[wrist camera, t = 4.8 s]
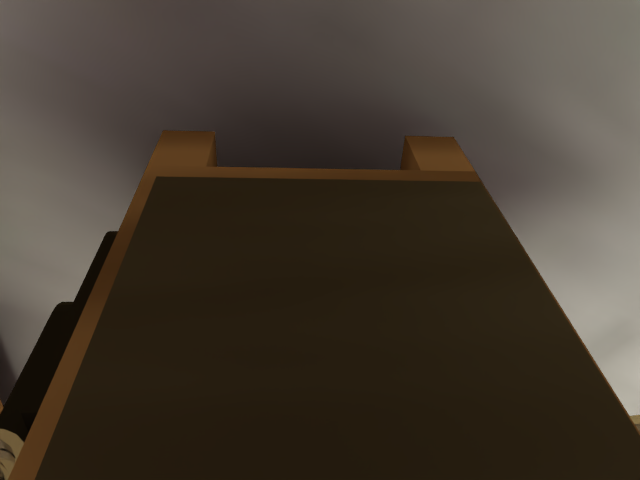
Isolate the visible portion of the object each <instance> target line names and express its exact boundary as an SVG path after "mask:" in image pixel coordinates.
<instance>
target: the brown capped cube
mask: <svg viewBox="0 0 640 480" xmlns="http://www.w3.org/2000/svg"><path fill="white" fill-rule="evenodd" d="M8 480H640V432H639V430H638V429H637V427H636V426H635V424H634V422H633V421H632V419H631V418H630V416H629V414H628V413H627V411H626V410H625V408H624V407H623V405H622V403H621V402H620V400H619V399H618V397H617V395H616V394H615V392H614V391H613V389H612V387H611V386H610V384H609V383H608V381H607V380H606V378H605V376H604V375H603V373H602V372H601V370H600V368H599V367H598V365H597V364H596V362H595V361H594V359H593V357H592V356H591V354H590V353H589V351H588V349H587V348H586V346H585V345H584V343H583V341H582V340H581V338H580V337H579V335H578V334H577V332H576V330H575V329H574V327H573V326H572V324H571V322H570V321H569V319H568V318H567V316H566V315H565V313H564V311H563V310H562V308H561V307H560V305H559V303H558V302H557V300H556V299H555V297H554V296H553V294H552V292H551V291H550V289H549V288H548V286H547V284H546V283H545V281H544V280H543V278H542V276H541V275H540V273H539V272H538V270H537V269H536V267H535V265H534V264H533V262H532V261H531V259H530V257H529V256H528V254H527V253H526V251H525V250H524V248H523V246H522V245H521V243H520V242H519V240H518V238H517V237H516V235H515V234H514V232H513V230H512V229H511V227H510V226H509V224H508V223H507V221H506V219H505V218H504V216H503V215H502V213H501V211H500V210H499V208H498V207H497V205H496V204H495V202H494V200H493V199H492V197H491V196H490V194H489V192H488V191H487V189H486V188H485V186H484V184H483V183H482V181H481V180H480V178H479V177H478V175H477V173H476V172H475V170H474V169H473V167H472V165H471V164H470V162H469V161H468V159H467V158H466V156H465V154H464V153H463V151H462V150H461V148H460V146H459V145H458V143H457V142H456V140H455V138H454V137H431V136H405V140H404V147H403V154H402V160H401V167H400V170H369V169H313V168H257V167H217V156H216V140H215V132H212V131H168V130H163V132H162V134H161V136H160V139H159V141H158V143H157V145H156V148H155V150H154V152H153V154H152V157H151V159H150V161H149V163H148V166H147V168H146V170H145V172H144V175H143V177H142V179H141V181H140V184H139V186H138V188H137V190H136V193H135V195H134V197H133V199H132V202H131V204H130V206H129V208H128V211H127V213H126V215H125V217H124V220H123V222H122V224H121V226H120V228H119V231H118V233H117V235H116V237H115V240H114V242H113V244H112V246H111V249H110V251H109V253H108V255H107V258H106V260H105V262H104V264H103V267H102V269H101V271H100V273H99V276H98V278H97V280H96V282H95V285H94V287H93V289H92V291H91V294H90V296H89V298H88V300H87V303H86V305H85V307H84V309H83V312H82V314H81V316H80V318H79V321H78V323H77V325H76V327H75V330H74V332H73V334H72V336H71V339H70V341H69V343H68V345H67V348H66V350H65V352H64V354H63V357H62V359H61V361H60V363H59V366H58V368H57V370H56V372H55V375H54V377H53V379H52V381H51V384H50V386H49V388H48V390H47V393H46V395H45V397H44V399H43V402H42V404H41V406H40V408H39V411H38V413H37V415H36V417H35V420H34V422H33V424H32V426H31V429H30V431H29V433H28V435H27V438H26V440H25V442H24V444H23V447H22V449H21V451H20V453H19V456H18V458H17V460H16V462H15V465H14V467H13V469H12V471H11V474H10V476H9V478H8Z"/></svg>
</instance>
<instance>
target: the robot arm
mask: <svg viewBox="0 0 640 480" xmlns="http://www.w3.org/2000/svg"><path fill="white" fill-rule="evenodd" d="M117 233H118V231H109V232H107V233H106V235H105V236H104V239H103V241H102V243H101V245H100V247H99V249H98V251H97V253H96V256H95V258H94V260H93V262H92V264H91V266H90V268H89V270H88V272H87V275H86V277H85V279H84V281H83V283H82V285H81V287H80V289H79V291H78V294H77V296H76V298H75V300H74V302H61V303H59V304H58V305H57V306H56V307H55V309H54V310H53V312H52V314H51V316H50V318H49V319H48V321H47V323H46V325H45V327H44V329H43V331H42V333H41V335H40V337H39V339H38V341H37V343H36V345H35V347H34V349H33V351H32V353H31V355H30V357H29V359H28V361H27V363H26V365H25V367H24V368H23V370H22V372H21V374H20V376H19V378H18V380H17V382H16V384H15V386H14V388H13V390H12V392H11V394H10V396H9V398H8V400H7V402H6V404H5V406H4V408H3V410H2V412H1V414H0V480H8V478H9V476H10V474H11V471H12V469H13V467H14V465H15V462H16V460H17V458H18V456H19V453H20V451H21V449H22V447H23V444H24V442H25V440H26V438H27V435H28V433H29V431H30V429H31V426H32V424H33V422H34V420H35V417H36V415H37V413H38V411H39V408H40V406H41V404H42V402H43V399H44V397H45V395H46V393H47V390H48V388H49V386H50V384H51V381H52V379H53V377H54V375H55V372H56V370H57V368H58V366H59V363H60V361H61V359H62V357H63V354H64V352H65V350H66V348H67V345H68V343H69V341H70V339H71V336H72V334H73V332H74V330H75V327H76V325H77V323H78V321H79V318H80V316H81V314H82V312H83V309H84V307H85V305H86V303H87V300H88V298H89V296H90V294H91V291H92V289H93V287H94V285H95V282H96V280H97V278H98V276H99V273H100V271H101V269H102V267H103V264H104V262H105V260H106V258H107V255H108V253H109V251H110V249H111V246H112V244H113V242H114V240H115V237H116V235H117ZM630 418H631V419H632V421H633V422H634V424H635V426H636V427H637V429H638V430H639V432H640V415H633V416H630Z"/></svg>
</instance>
